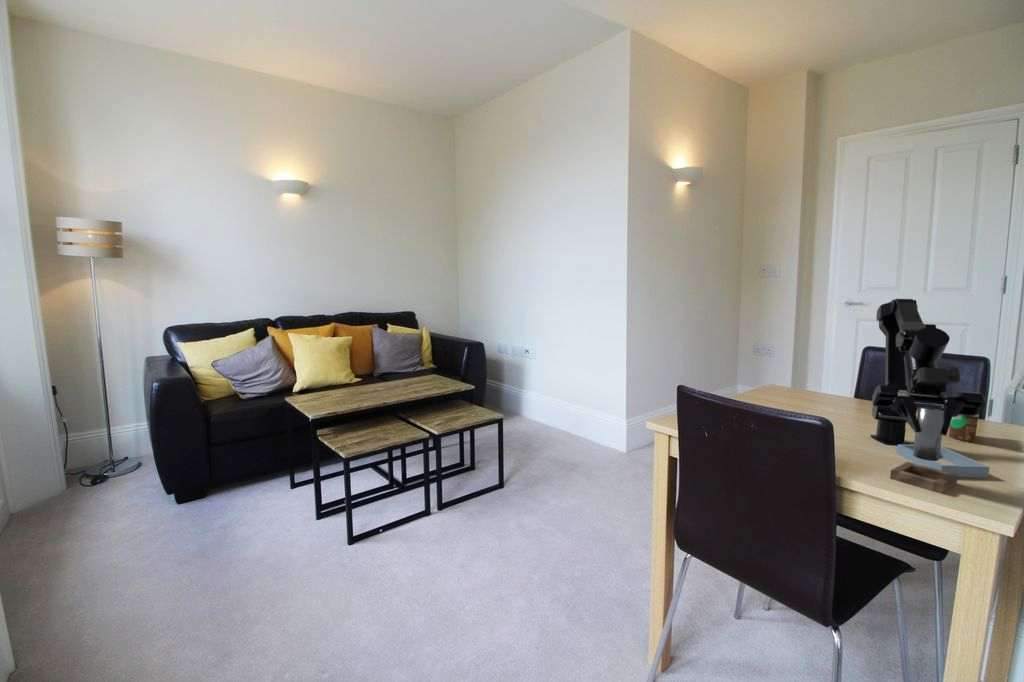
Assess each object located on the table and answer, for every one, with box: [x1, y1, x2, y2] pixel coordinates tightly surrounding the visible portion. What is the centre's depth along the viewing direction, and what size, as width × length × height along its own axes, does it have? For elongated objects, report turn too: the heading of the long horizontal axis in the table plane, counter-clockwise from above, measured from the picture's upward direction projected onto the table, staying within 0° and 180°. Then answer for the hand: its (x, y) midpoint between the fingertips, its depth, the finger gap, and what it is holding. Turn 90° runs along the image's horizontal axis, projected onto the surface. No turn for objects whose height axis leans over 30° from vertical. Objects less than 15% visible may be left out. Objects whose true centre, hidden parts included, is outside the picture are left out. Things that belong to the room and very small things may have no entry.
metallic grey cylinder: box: [913, 405, 945, 462], centre depth 105 cm, size 4×4×11 cm
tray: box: [896, 444, 990, 479], centre depth 116 cm, size 14×10×4 cm
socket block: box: [889, 461, 959, 495], centre depth 107 cm, size 9×9×3 cm
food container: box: [948, 413, 980, 444], centre depth 138 cm, size 12×6×10 cm, turn 141°
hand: (930, 433), depth 104 cm, fingers closed on metallic grey cylinder, 4 cm apart
